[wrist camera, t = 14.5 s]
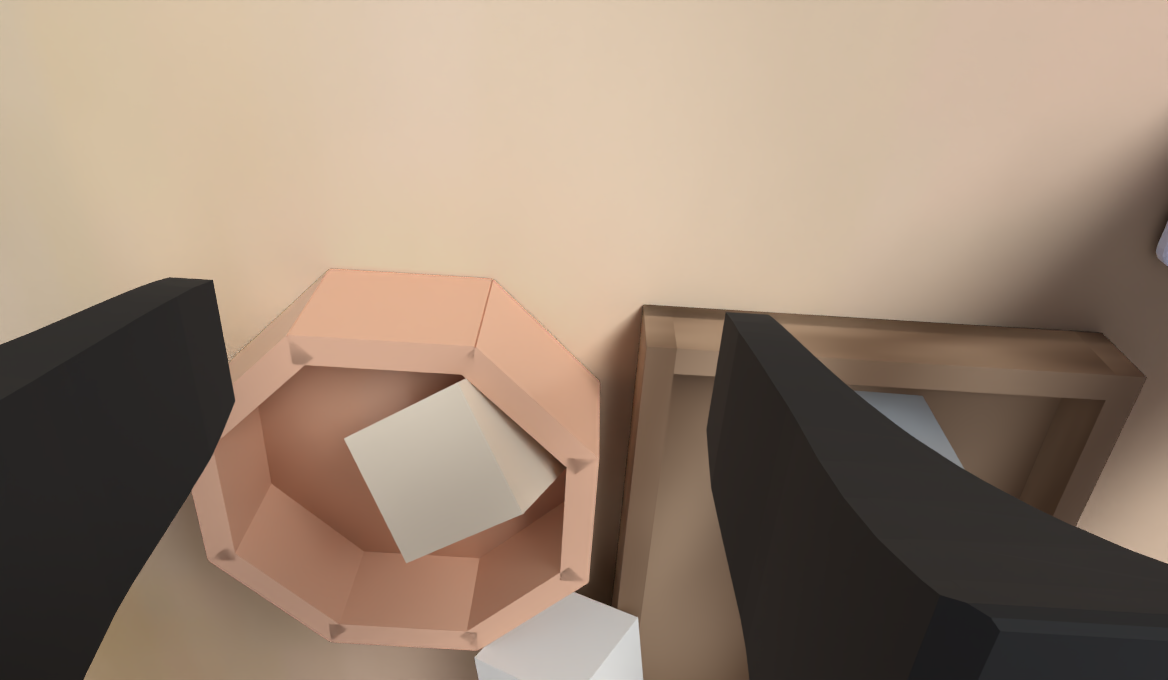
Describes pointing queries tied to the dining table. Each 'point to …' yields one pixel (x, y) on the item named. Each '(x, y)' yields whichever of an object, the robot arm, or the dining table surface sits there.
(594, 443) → the terracotta bowl
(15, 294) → the dining table surface
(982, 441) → the walnut tray
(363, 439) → the beige block
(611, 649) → the white block
